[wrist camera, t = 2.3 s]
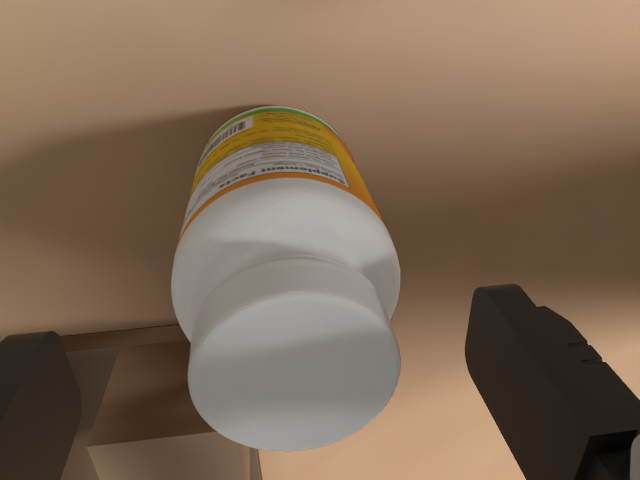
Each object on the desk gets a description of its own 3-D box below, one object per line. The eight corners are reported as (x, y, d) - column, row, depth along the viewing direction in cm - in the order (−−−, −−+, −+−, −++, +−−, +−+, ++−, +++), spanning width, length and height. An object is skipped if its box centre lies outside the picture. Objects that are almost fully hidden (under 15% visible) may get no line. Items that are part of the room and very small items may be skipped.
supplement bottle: (338, 249, 19) (404, 475, 11) (195, 239, 18) (148, 478, 10) (365, 111, 17) (476, 269, 8) (200, 92, 16) (141, 248, 7)
